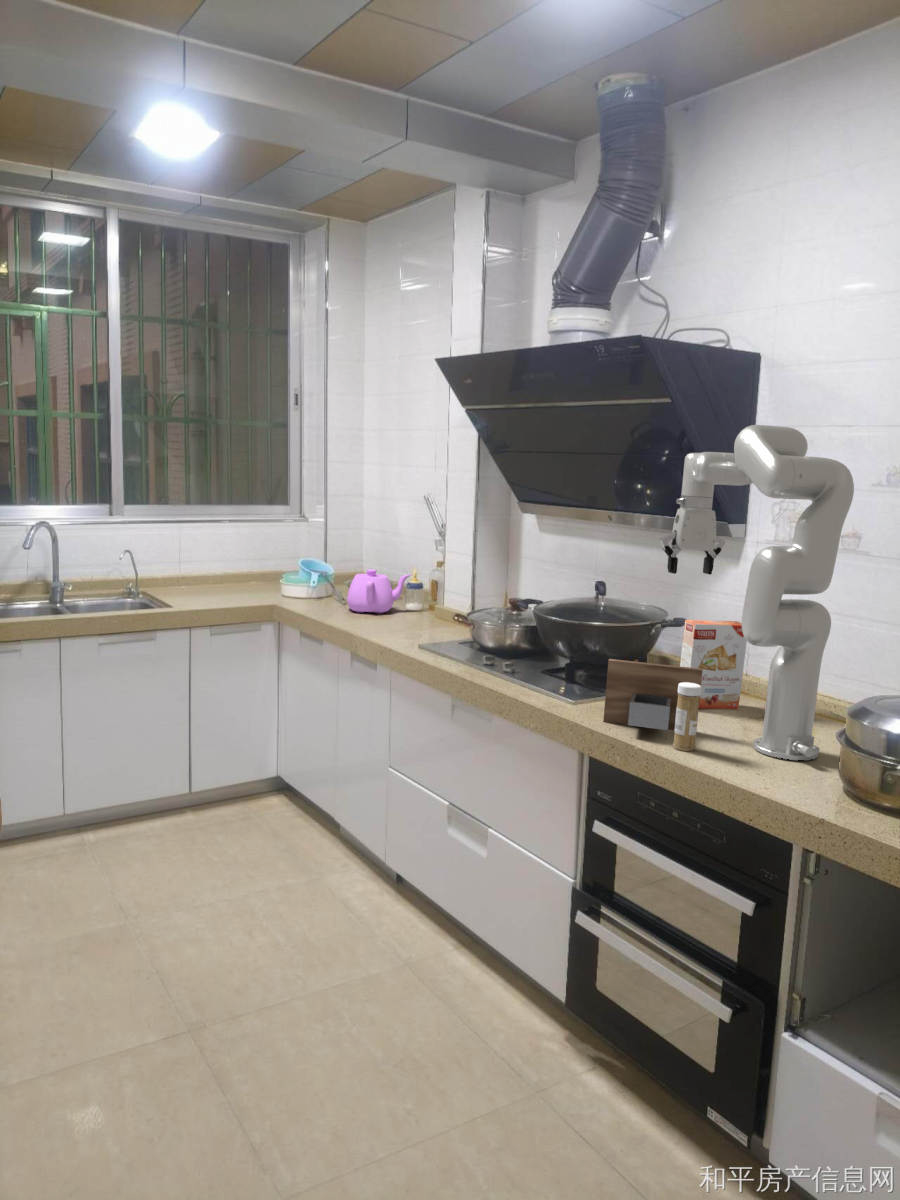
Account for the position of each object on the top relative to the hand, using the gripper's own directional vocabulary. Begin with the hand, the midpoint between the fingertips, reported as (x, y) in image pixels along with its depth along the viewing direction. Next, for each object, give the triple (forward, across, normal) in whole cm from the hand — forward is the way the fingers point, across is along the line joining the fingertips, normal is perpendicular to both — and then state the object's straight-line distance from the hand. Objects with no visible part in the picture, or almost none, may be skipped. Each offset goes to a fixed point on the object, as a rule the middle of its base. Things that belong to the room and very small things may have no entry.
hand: (689, 573), depth 226 cm
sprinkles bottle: (+31, -21, -40) cm, 55 cm away
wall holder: (+31, -23, -29) cm, 49 cm away
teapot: (+31, -57, +120) cm, 136 cm away
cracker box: (+31, +2, -11) cm, 33 cm away
